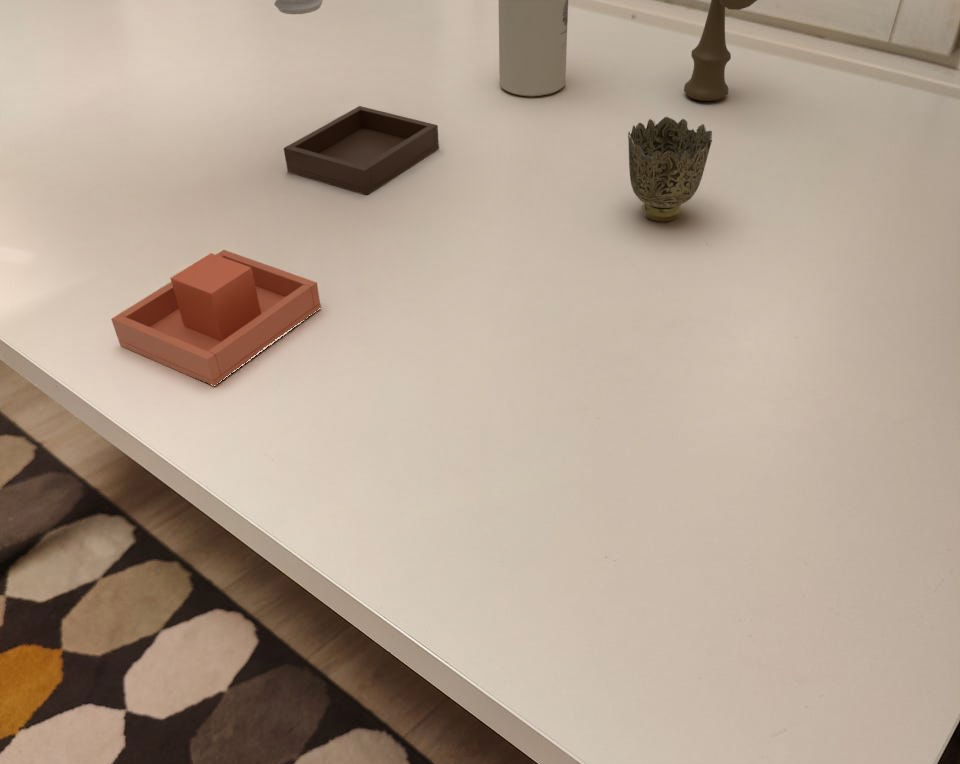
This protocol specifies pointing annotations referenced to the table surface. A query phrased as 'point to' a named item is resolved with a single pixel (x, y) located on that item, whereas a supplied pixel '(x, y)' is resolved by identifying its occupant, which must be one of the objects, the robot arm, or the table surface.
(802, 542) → the table surface
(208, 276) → the terracotta block
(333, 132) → the walnut tray
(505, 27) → the travel mug
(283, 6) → the rook chess piece
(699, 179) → the cup
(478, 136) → the table surface
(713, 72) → the kendama
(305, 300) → the terracotta tray
